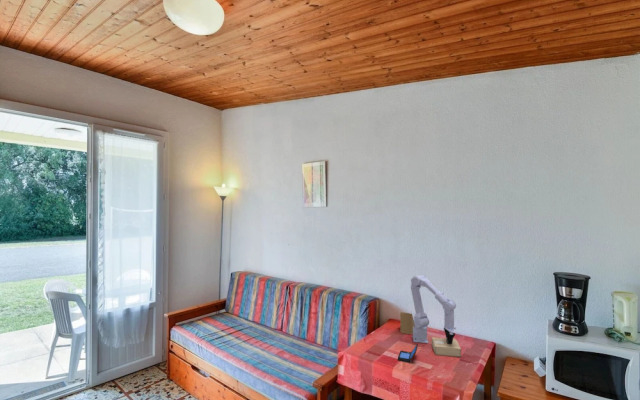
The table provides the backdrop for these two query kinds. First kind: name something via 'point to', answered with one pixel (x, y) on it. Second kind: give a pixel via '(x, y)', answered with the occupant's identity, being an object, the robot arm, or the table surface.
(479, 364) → the table surface
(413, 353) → the handheld game console
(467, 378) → the table surface
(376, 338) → the table surface
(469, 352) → the table surface
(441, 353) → the carton
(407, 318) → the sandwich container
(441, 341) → the carton lid
